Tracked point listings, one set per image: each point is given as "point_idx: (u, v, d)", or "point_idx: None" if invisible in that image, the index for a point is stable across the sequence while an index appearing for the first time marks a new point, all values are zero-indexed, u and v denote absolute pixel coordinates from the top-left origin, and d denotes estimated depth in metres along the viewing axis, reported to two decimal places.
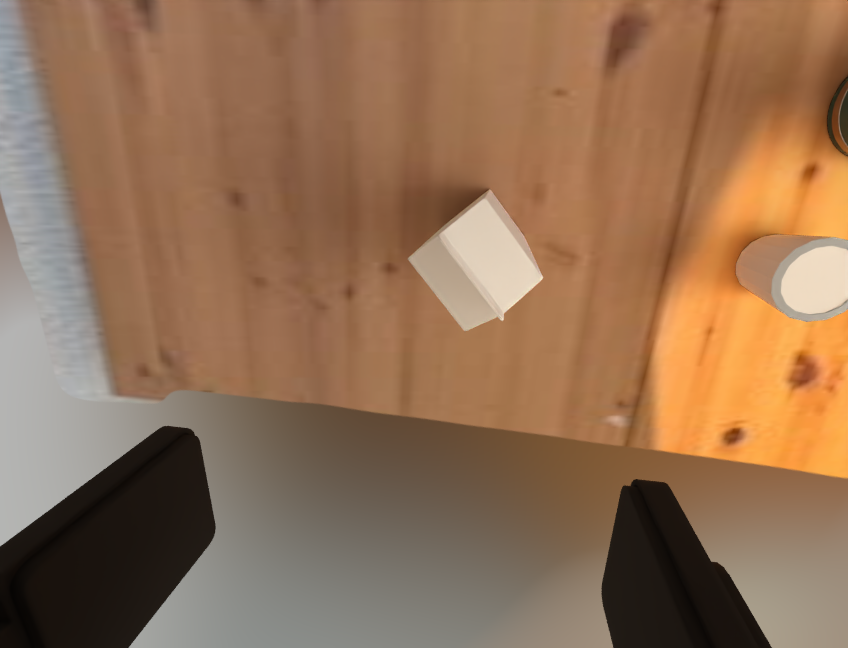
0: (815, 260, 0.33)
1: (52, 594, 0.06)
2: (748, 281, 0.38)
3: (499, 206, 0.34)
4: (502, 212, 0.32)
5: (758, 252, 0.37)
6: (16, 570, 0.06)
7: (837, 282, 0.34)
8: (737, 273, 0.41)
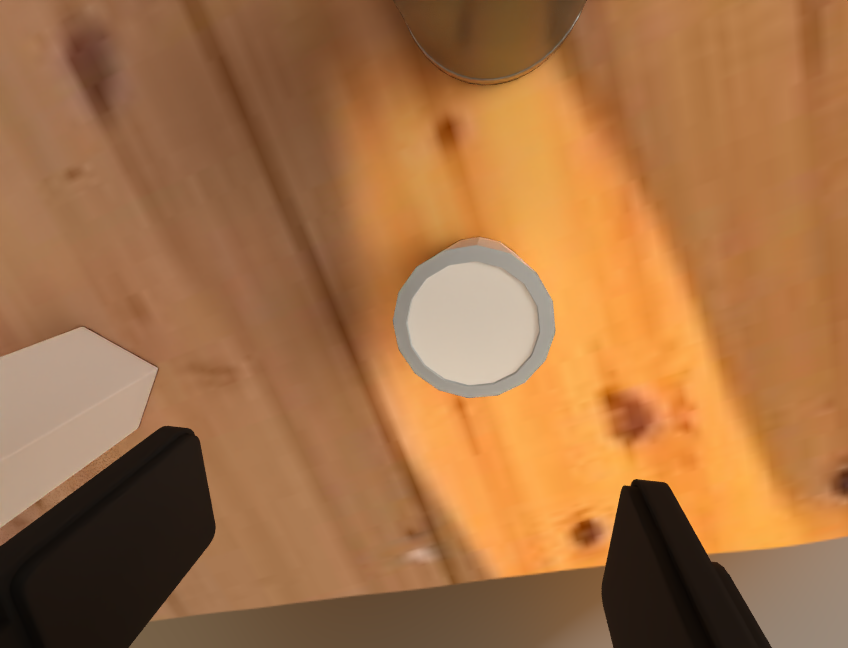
0: (441, 297, 0.18)
1: (52, 594, 0.06)
2: None
3: None
4: None
5: None
6: (16, 570, 0.06)
7: (500, 318, 0.18)
8: None
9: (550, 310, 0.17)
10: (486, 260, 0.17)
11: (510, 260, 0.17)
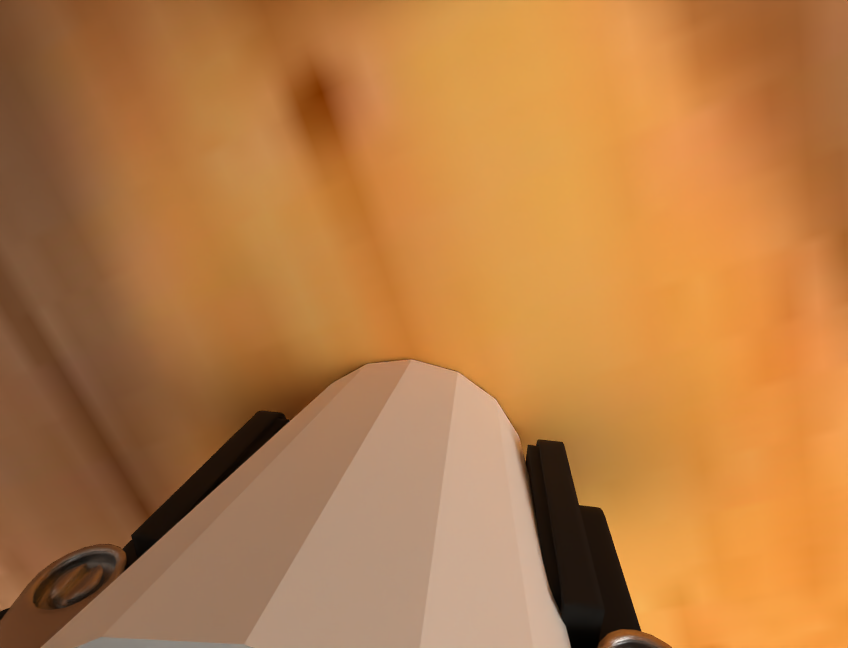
0: None
1: None
2: None
3: None
4: None
5: None
6: None
7: None
8: None
9: None
10: None
11: None
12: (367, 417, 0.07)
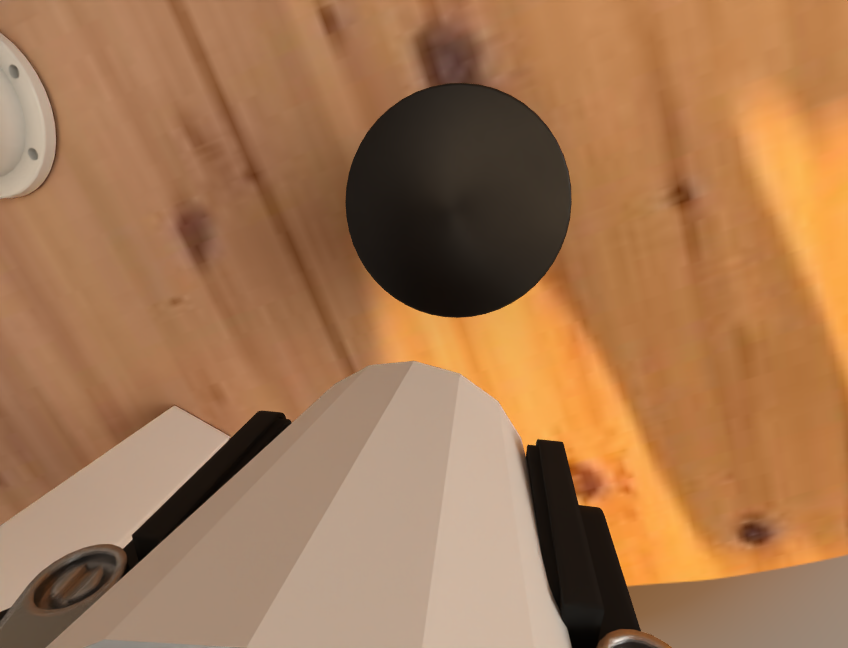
0: None
1: None
2: None
3: (112, 469, 0.31)
4: (86, 495, 0.29)
5: None
6: None
7: None
8: None
9: None
10: None
11: None
12: (369, 419, 0.07)
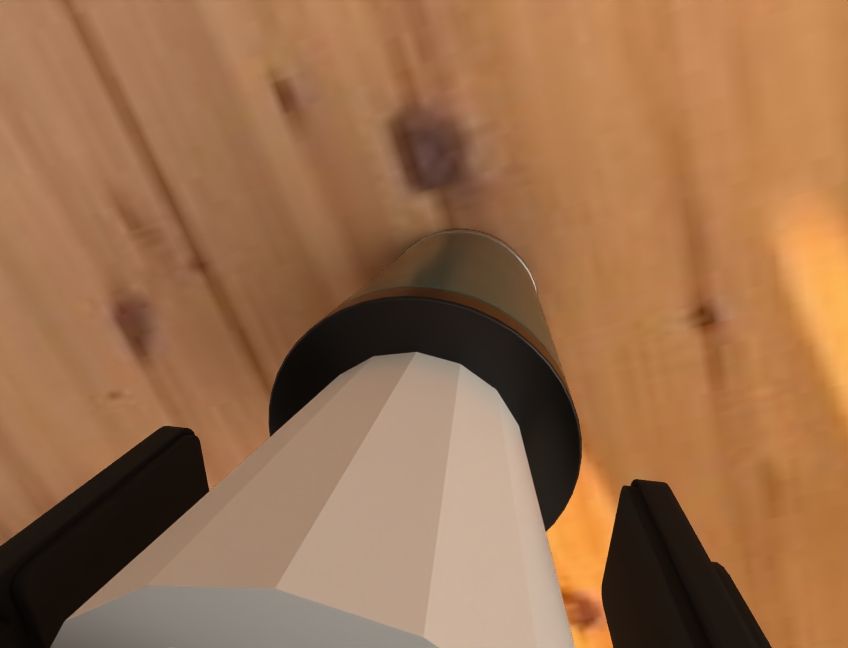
0: None
1: (52, 594, 0.06)
2: None
3: None
4: None
5: None
6: (16, 570, 0.06)
7: None
8: None
9: None
10: None
11: None
12: (375, 403, 0.07)
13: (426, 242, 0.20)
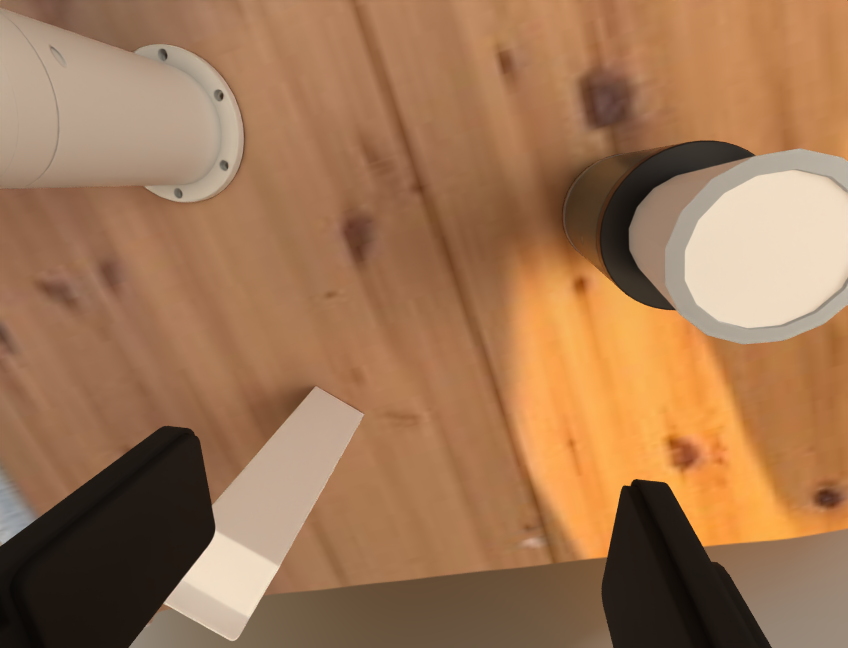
0: (737, 217, 0.15)
1: (52, 594, 0.06)
2: (652, 282, 0.20)
3: (292, 437, 0.37)
4: (283, 457, 0.34)
5: (643, 227, 0.19)
6: (16, 570, 0.06)
7: (810, 243, 0.15)
8: (638, 266, 0.22)
9: None
10: (810, 167, 0.14)
11: (841, 167, 0.14)
12: None
13: (617, 156, 0.30)
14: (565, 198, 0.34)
